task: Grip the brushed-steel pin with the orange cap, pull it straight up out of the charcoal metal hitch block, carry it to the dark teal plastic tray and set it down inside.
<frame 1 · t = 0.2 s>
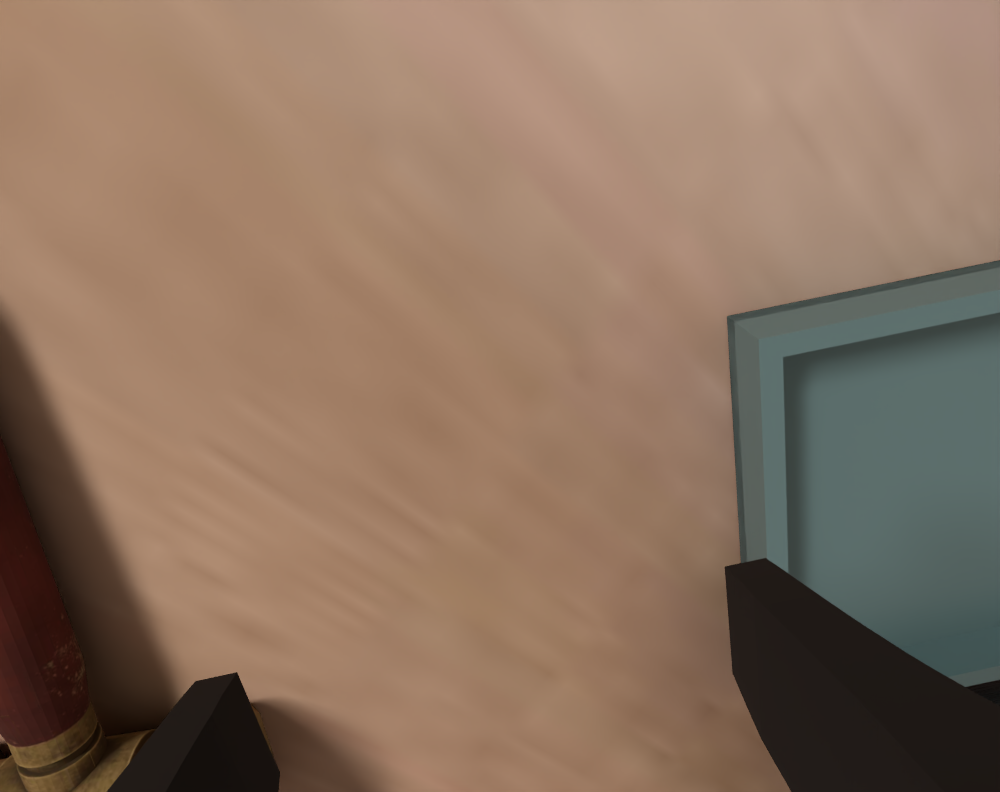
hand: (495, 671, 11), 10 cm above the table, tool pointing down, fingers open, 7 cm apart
tray: (947, 476, 22), on the table
hitch block: (900, 758, 27), on the table
gavel: (27, 534, 21), on the table
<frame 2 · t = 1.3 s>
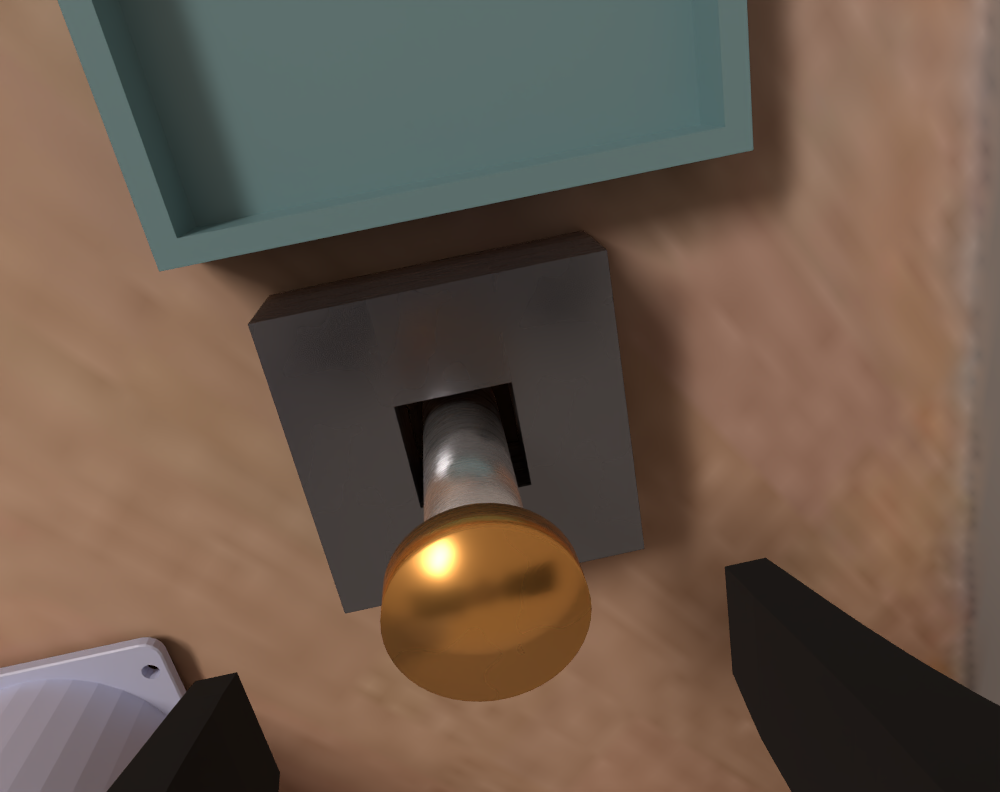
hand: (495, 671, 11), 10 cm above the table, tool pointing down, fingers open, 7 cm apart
steel pin: (469, 485, 16), in the hitch block
hitch block: (459, 406, 20), on the table
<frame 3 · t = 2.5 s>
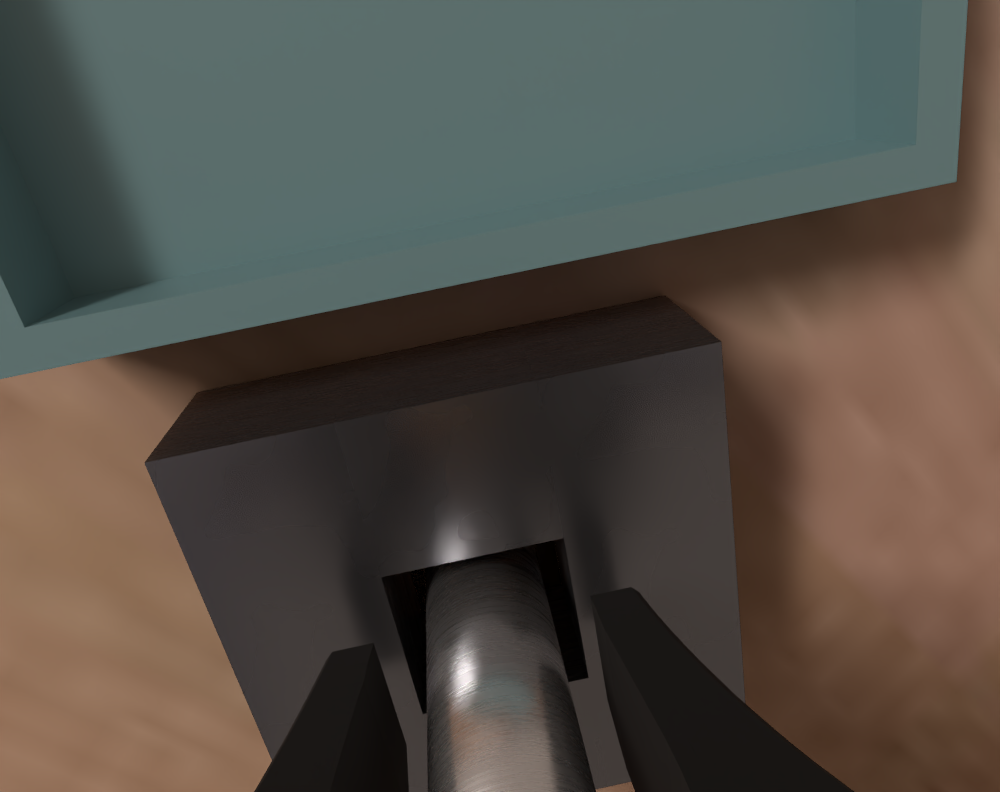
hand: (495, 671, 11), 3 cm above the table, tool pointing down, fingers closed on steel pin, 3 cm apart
steel pin: (502, 725, 10), in the hitch block, touching gripper
hitch block: (478, 540, 14), on the table
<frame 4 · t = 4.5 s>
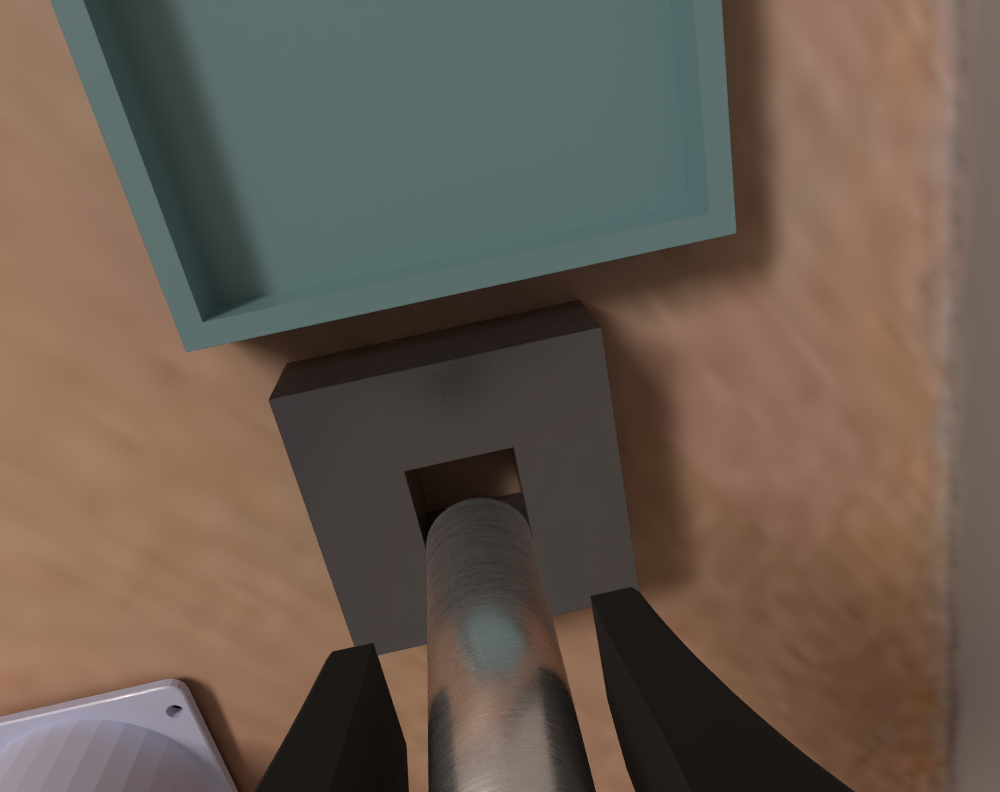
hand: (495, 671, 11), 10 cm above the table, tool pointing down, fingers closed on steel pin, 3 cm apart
steel pin: (502, 727, 10), point 11 cm above the table, touching gripper
hitch block: (464, 461, 21), on the table
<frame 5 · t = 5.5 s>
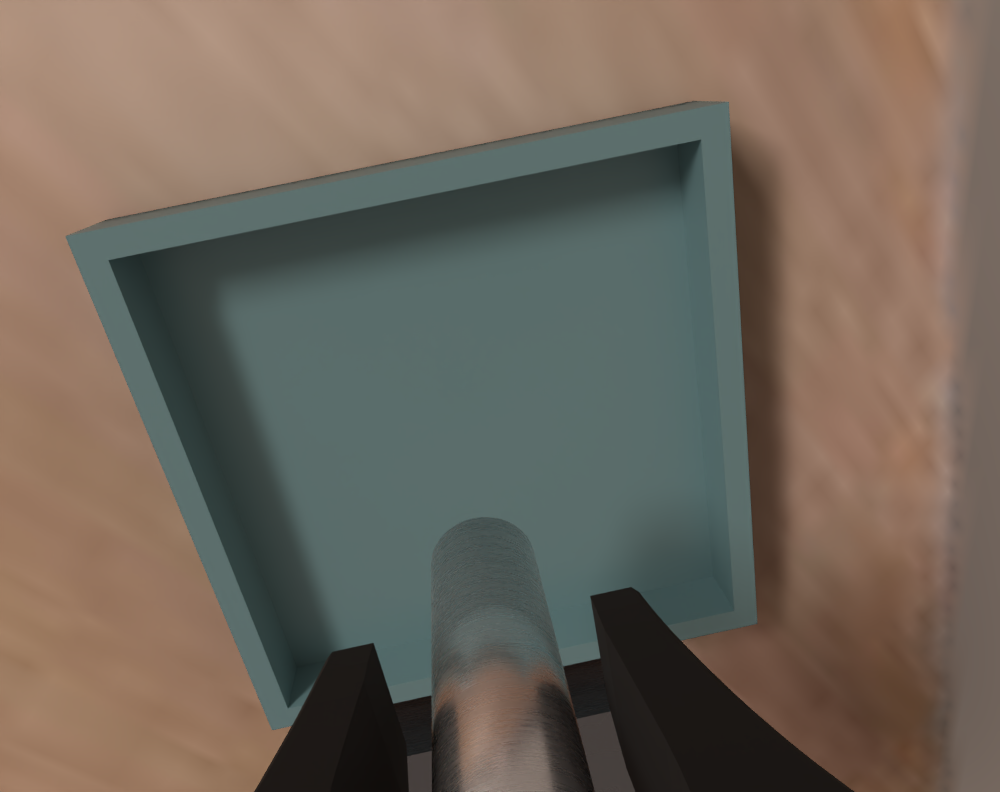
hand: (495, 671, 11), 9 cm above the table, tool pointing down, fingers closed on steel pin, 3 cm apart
tray: (462, 425, 19), on the table
steel pin: (505, 741, 10), point 10 cm above the table, touching gripper
hitch block: (507, 764, 23), on the table
when the fingers open (5 cm above the table, at t = 6.5 s): steel pin stays where it is, resting on tray.
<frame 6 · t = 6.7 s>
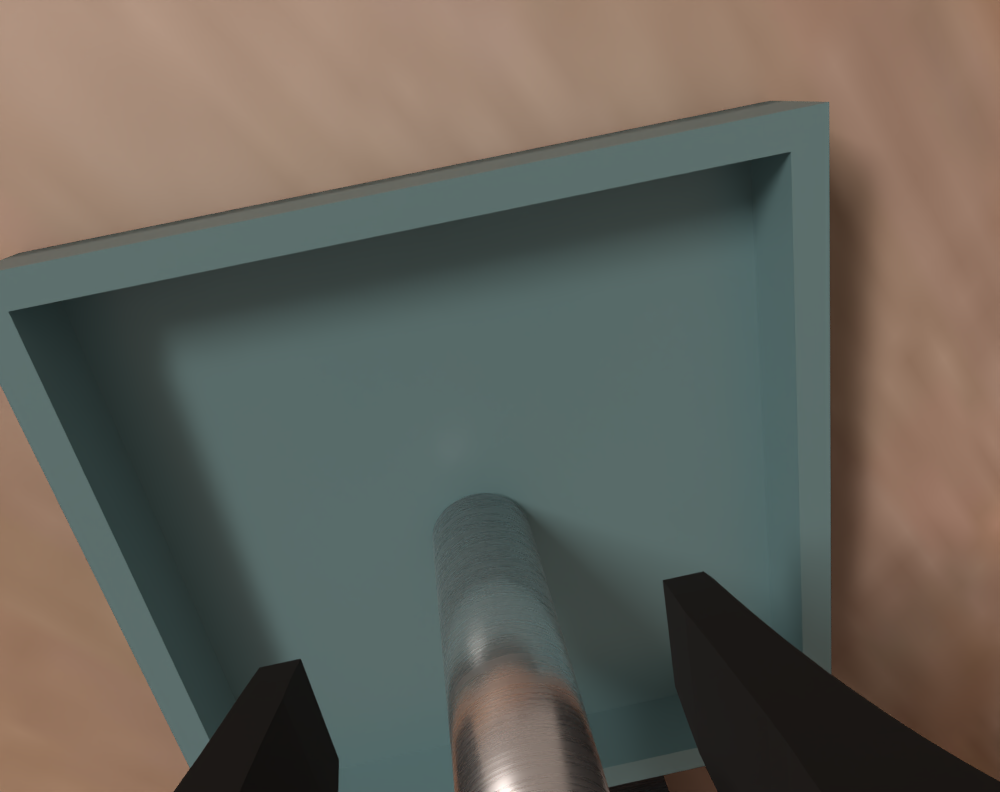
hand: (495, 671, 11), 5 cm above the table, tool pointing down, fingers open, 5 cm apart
tray: (473, 500, 15), on the table
steel pin: (514, 707, 11), in the tray
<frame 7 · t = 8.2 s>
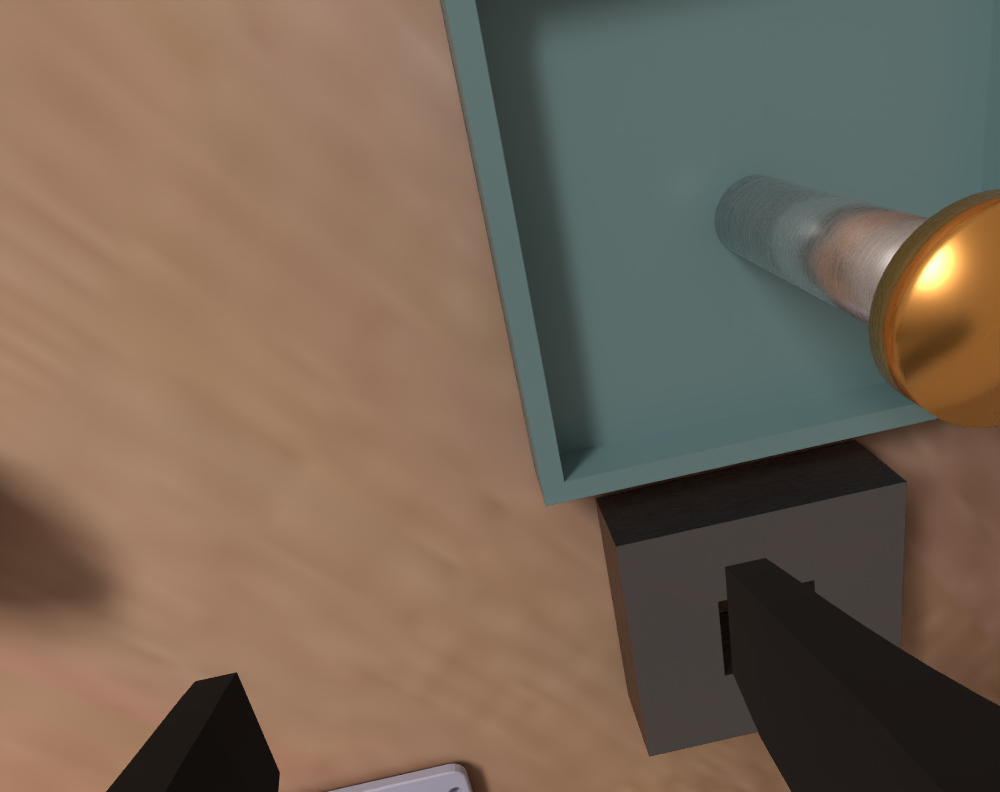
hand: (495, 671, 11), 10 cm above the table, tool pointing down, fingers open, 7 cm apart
tray: (742, 192, 19), on the table
steel pin: (847, 253, 14), in the tray
hitch block: (734, 576, 23), on the table
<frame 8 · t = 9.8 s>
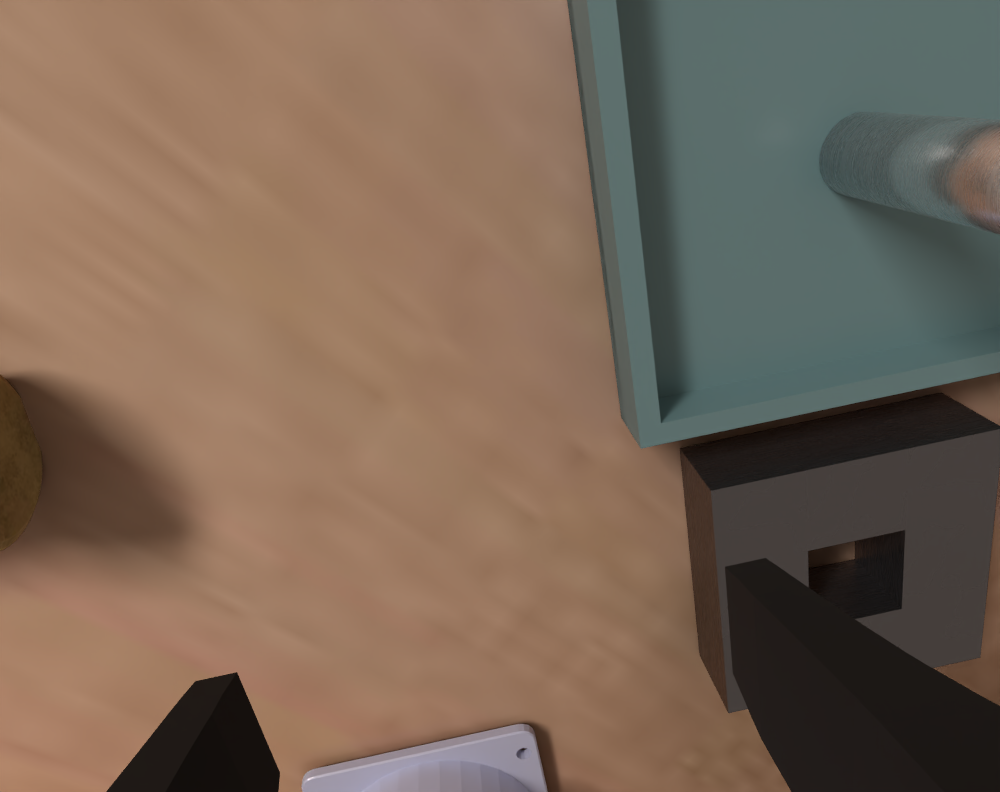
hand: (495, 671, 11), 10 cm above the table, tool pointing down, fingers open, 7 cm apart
tray: (845, 131, 19), on the table
steel pin: (985, 174, 14), in the tray
hitch block: (813, 532, 23), on the table
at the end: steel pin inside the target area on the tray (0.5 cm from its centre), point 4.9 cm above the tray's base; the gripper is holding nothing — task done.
